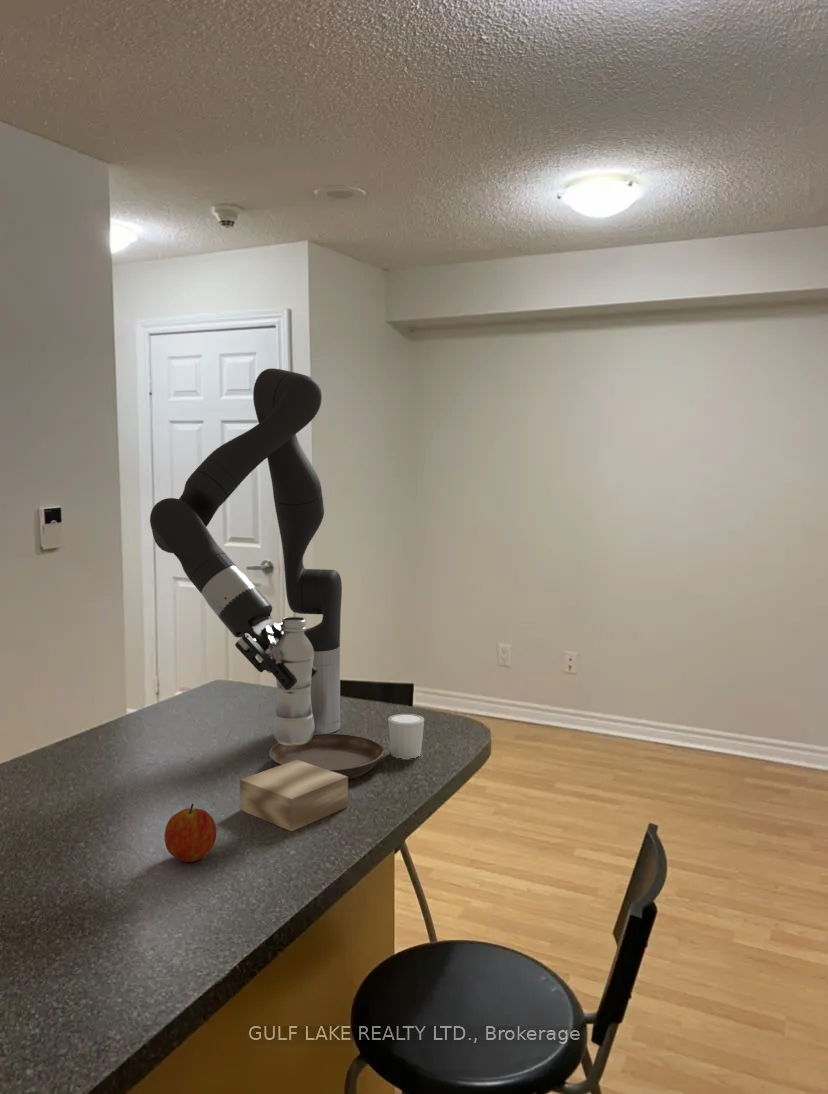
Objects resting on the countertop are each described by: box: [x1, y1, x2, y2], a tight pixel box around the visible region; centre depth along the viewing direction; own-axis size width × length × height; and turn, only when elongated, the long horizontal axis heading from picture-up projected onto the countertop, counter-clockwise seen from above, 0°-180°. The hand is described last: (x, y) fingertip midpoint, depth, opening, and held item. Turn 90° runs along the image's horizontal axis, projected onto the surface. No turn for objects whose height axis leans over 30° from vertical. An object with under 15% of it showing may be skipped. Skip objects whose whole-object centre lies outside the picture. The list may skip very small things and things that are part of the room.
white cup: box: [387, 713, 425, 760], centre depth 160 cm, size 7×7×7 cm
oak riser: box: [239, 760, 349, 832], centre depth 134 cm, size 12×12×5 cm
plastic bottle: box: [272, 616, 315, 746], centre depth 132 cm, size 6×7×20 cm
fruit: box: [164, 803, 218, 864], centre depth 117 cm, size 7×7×8 cm
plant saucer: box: [268, 733, 384, 780], centre depth 154 cm, size 21×21×3 cm
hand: (302, 680), depth 132 cm, fingers closed on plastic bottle, 6 cm apart
